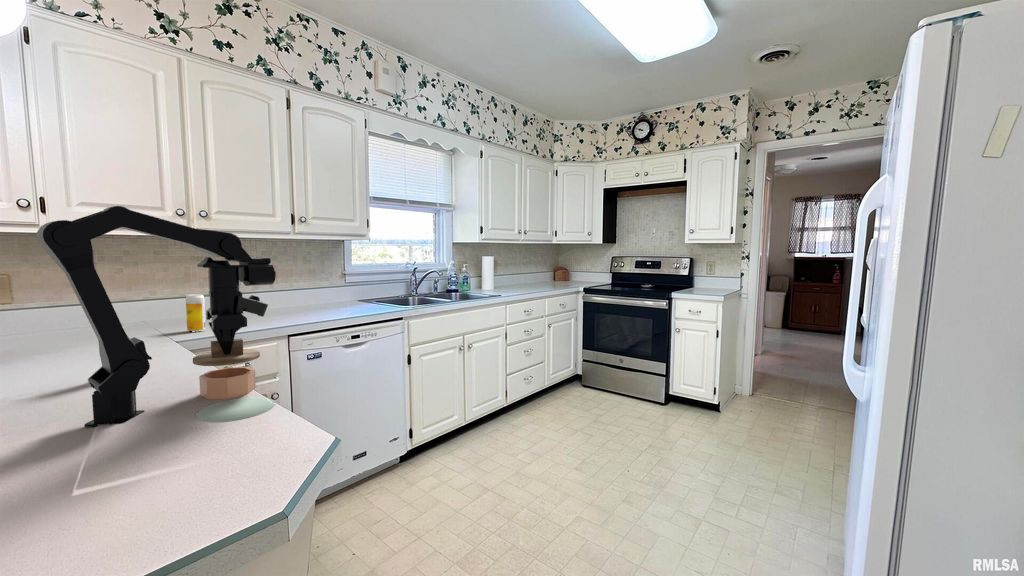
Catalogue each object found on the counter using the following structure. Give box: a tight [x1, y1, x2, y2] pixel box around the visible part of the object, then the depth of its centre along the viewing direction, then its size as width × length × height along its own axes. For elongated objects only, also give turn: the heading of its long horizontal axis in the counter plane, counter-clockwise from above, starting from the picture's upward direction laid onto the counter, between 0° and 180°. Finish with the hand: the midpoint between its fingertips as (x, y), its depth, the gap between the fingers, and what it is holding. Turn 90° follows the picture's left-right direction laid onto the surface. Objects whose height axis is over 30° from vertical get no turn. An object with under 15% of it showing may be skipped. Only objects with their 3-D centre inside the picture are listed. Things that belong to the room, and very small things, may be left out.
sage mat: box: [195, 396, 276, 423], centre depth 88 cm, size 14×14×1 cm
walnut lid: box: [192, 337, 261, 367], centre depth 97 cm, size 13×13×4 cm
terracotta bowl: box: [199, 366, 257, 400], centre depth 98 cm, size 10×10×5 cm
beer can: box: [185, 293, 207, 332], centre depth 170 cm, size 6×6×15 cm
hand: (226, 353), depth 97 cm, fingers closed on walnut lid, 2 cm apart
